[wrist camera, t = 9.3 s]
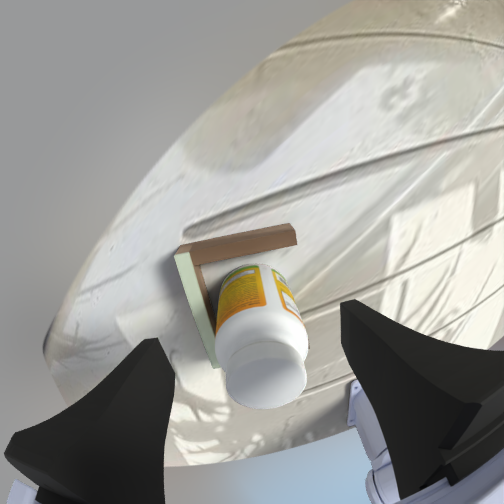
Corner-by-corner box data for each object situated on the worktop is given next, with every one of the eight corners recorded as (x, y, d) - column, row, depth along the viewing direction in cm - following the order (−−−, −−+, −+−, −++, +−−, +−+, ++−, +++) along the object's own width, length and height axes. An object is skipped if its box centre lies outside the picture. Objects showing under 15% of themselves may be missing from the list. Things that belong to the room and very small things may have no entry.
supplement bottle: (213, 314, 22) (202, 409, 12) (229, 253, 20) (224, 335, 11) (276, 327, 22) (297, 420, 13) (298, 270, 21) (339, 353, 12)
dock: (304, 334, 23) (310, 350, 21) (214, 351, 23) (213, 368, 21) (289, 223, 19) (296, 231, 17) (180, 245, 19) (173, 256, 17)
